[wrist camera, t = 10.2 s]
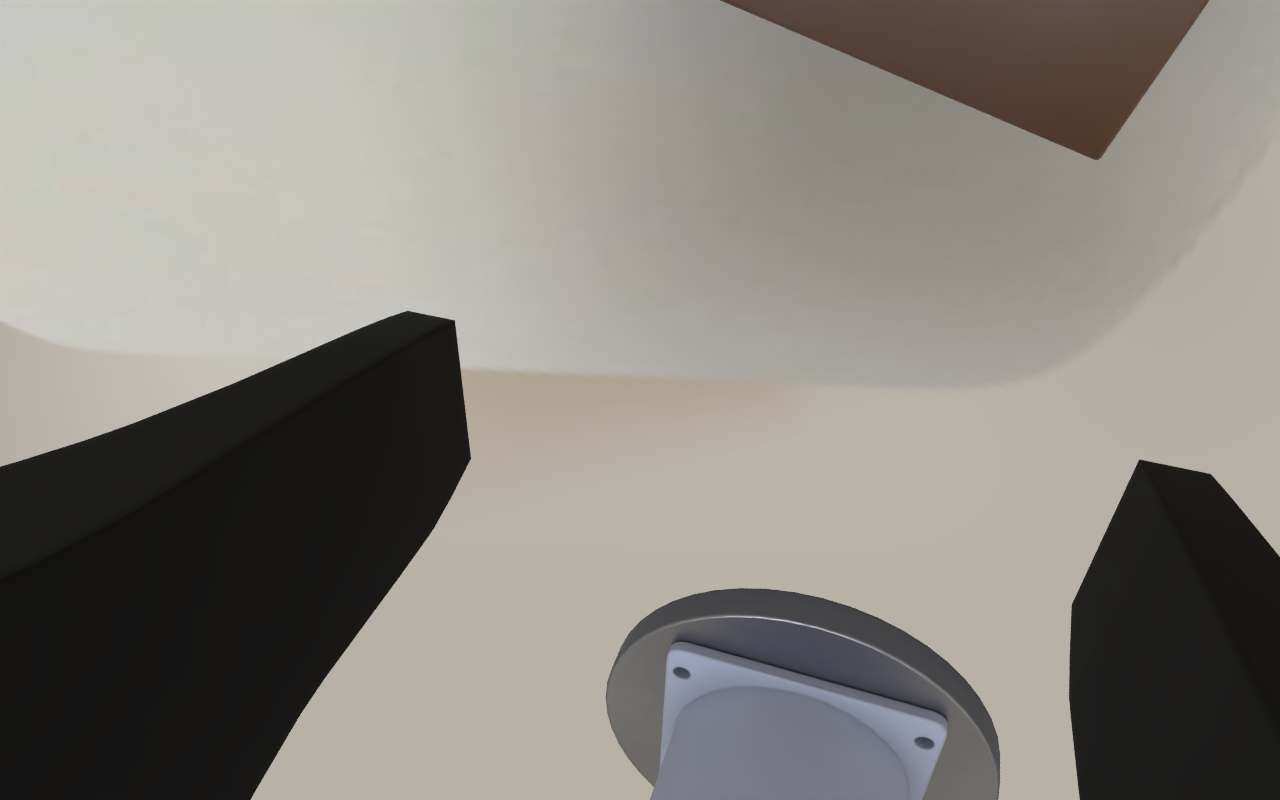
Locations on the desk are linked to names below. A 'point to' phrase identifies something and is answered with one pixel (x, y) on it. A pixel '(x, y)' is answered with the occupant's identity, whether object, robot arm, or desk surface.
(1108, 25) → the shelf
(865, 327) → the desk surface
